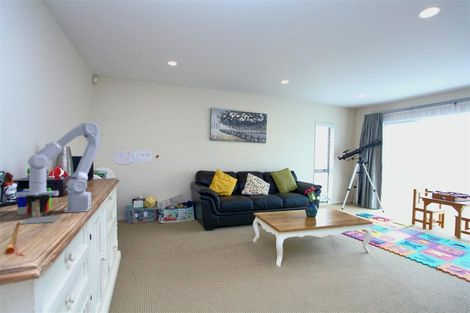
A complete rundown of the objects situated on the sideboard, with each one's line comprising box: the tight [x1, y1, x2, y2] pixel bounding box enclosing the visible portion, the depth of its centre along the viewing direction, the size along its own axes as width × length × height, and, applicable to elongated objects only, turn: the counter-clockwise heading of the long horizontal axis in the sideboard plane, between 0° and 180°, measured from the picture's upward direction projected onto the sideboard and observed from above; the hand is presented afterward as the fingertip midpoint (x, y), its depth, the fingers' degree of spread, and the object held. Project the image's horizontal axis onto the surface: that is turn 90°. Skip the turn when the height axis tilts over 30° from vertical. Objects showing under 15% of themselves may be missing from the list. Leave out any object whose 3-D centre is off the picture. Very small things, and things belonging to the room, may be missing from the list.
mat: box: [19, 215, 62, 226], centre depth 95 cm, size 11×8×1 cm
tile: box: [31, 200, 45, 218], centre depth 101 cm, size 2×5×7 cm, turn 20°
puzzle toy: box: [17, 187, 52, 215], centre depth 110 cm, size 10×10×10 cm
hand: (37, 212), depth 101 cm, fingers closed on tile, 2 cm apart
